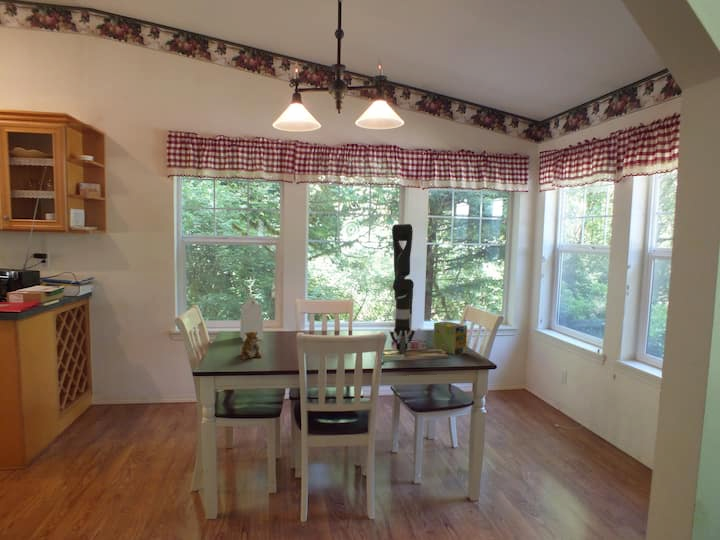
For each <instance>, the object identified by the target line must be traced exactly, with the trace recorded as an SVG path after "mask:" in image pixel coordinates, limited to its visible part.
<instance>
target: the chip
mask: <svg viewBox="0 0 720 540" xmlns="http://www.w3.org/2000/svg"><path fill="white" fill-rule="evenodd" d="M390 352H391V353H393V355H400V352H399V351H390Z"/></svg>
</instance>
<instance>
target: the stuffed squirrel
mask: <svg viewBox="0 0 720 540" xmlns="http://www.w3.org/2000/svg"><path fill="white" fill-rule="evenodd" d="M257 333H258V332H256V333H255V332H249V333H245V335H246V336H247V338H246V339H245V340H246V341H245V342H243V345H242V348H241V360H243V361H246V360H247V359H248V360H249V359H253V358H252V357H254V358H255V357H261V358H262V354H260V351H259V350H260V346H259V344H258V343H257V340H258V338H257V337H256V335H257ZM259 341H260V340H258V342H259ZM245 359H246V360H245Z"/></svg>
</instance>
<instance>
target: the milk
mask: <svg viewBox="0 0 720 540" xmlns="http://www.w3.org/2000/svg"><path fill="white" fill-rule="evenodd" d="M248 296H249V298H248V300H247V301H246V302H244V303H243V304H242V306H241V309H240V330H239V338H240V337H241V338H242V339H243V340H242V339H241V338H240V339H241V340H242V341H243V342H244V341H246V340H245V339H246V338H247V336H246V335H245V333H249V332H255V333H256V332H258V333H257V335H256V337H257V338H258V340H259V341H261V340H260V339H263V340H264V321H263V319H264V318H263V308H262V307H261V306H260V303H259V302H258V301H257V300H255V297H254V295H253V294H249V295H248Z"/></svg>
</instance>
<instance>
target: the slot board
mask: <svg viewBox="0 0 720 540" xmlns="http://www.w3.org/2000/svg"><path fill="white" fill-rule="evenodd" d="M433 359H449V354H447V352H445V351H443V350H442V349H434V348H432V349H427V350H412V351H405V356H404V360H403V361H413V360H414V361H415V360H433Z"/></svg>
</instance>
